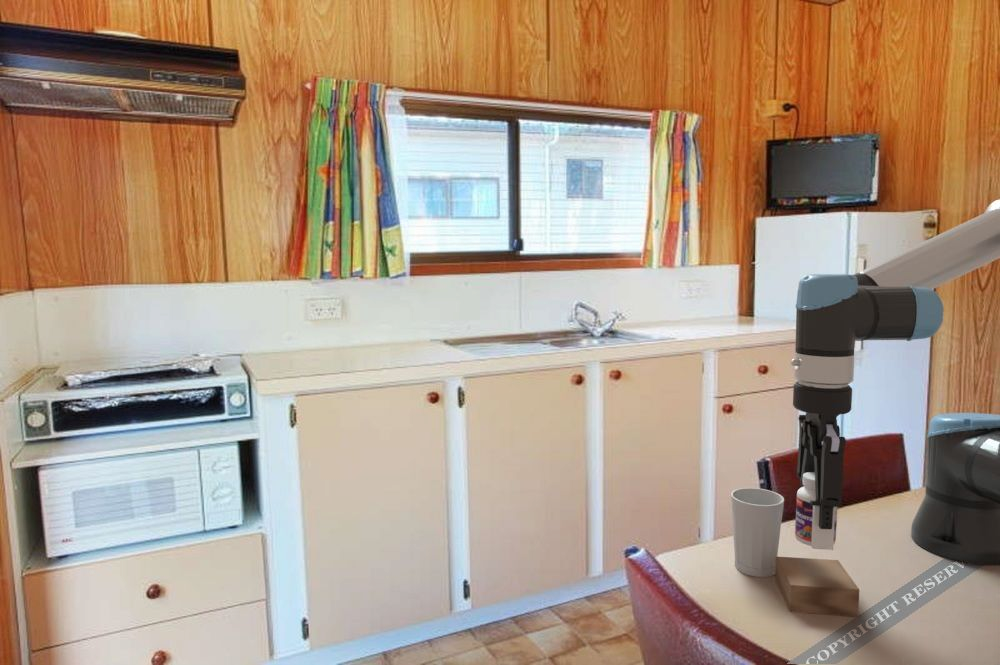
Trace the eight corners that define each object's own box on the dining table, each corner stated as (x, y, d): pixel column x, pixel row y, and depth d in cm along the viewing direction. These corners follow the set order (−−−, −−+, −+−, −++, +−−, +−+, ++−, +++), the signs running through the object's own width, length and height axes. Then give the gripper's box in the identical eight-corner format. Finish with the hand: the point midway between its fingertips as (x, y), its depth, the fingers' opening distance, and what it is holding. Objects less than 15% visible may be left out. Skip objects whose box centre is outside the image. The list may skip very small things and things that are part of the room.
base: (837, 584, 100) (838, 560, 100) (858, 616, 92) (859, 589, 91) (775, 580, 102) (775, 556, 102) (789, 611, 93) (790, 585, 93)
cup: (787, 581, 102) (789, 507, 100) (733, 577, 103) (734, 504, 102) (776, 558, 110) (778, 489, 108) (726, 554, 111) (727, 486, 110)
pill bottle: (786, 536, 97) (789, 473, 96) (812, 530, 99) (815, 468, 98) (817, 551, 92) (820, 484, 91) (844, 544, 94) (847, 479, 93)
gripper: (779, 371, 103) (773, 513, 105) (813, 395, 85) (806, 566, 87) (830, 372, 101) (823, 516, 104) (876, 397, 83) (866, 570, 86)
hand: (815, 538), depth 96 cm, fingers closed on pill bottle, 5 cm apart
